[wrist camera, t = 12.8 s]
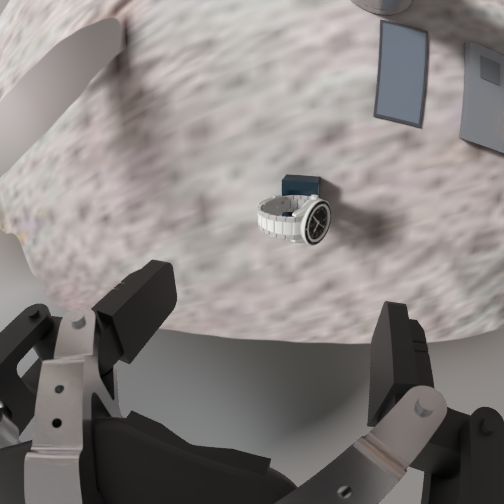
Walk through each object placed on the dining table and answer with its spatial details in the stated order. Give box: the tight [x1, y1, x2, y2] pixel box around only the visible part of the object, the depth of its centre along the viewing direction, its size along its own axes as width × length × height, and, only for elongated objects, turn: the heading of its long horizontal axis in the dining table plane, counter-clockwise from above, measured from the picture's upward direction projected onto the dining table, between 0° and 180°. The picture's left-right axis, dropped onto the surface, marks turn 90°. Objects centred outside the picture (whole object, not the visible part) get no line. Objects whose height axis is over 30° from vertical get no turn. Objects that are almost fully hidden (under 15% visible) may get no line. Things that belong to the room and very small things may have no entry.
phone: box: [374, 20, 428, 128], centre depth 27 cm, size 6×13×1 cm, turn 176°
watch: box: [258, 175, 331, 245], centre depth 34 cm, size 6×8×11 cm
